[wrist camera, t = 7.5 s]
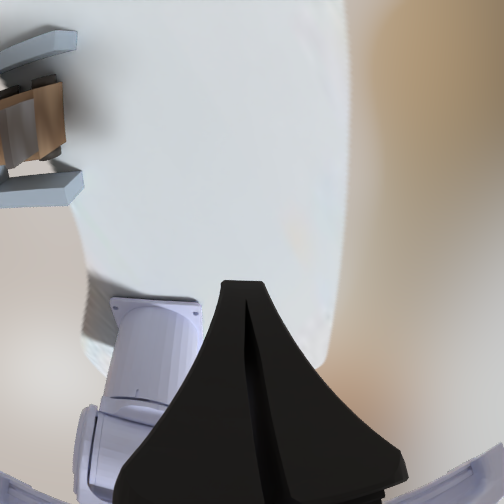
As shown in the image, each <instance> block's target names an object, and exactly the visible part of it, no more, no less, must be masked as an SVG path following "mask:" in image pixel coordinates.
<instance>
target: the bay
mask: <svg viewBox="0 0 504 504" xmlns="http://www.w3.org/2000/svg"><path fill="white" fill-rule="evenodd" d="M76 42H77V31H64V30H54V31H51V32H48V33H45V34H42V35H39V36H36V37H33V38H31V39H28V40H26V41H23V42H21V43H18V44H16V45H13V46H11V47H9V48H7V49H4V50H2V51H0V74H1V73H3V72H6V71H8V70H11V69H14V68H16V67H19V66H22V65H24V64H27V63H30V62H33V61H36V60H39V59H43V58H46V57H49V56H53V55H56V54H60V53H64V52H68V51H72V50H76ZM83 189H84V182H83V176H82V171H74V172H60V173H48V174H37V175H28V176H19V177H11V178H9V174H8V169H6V165H1V166H0V208H15V207H16V208H18V207H43V206H68V205H69V204H70V203H71V202H72V201H73V200H74V199H75V197H76V196H77V195H78V194H79V193H80V192H81V191H82V190H83Z"/></svg>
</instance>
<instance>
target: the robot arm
mask: <svg viewBox="0 0 504 504" xmlns="http://www.w3.org/2000/svg"><path fill="white" fill-rule="evenodd" d="M109 304H110V307H111V310H112V313H113V315H114V318H115V321H116V324H117V326H118V329H119V331H118V335H117V339H116V343H115V346H114V350H113V354H112V358H111V362H110V367H109V371H108V375H107V380H106V384H105V389H104V394H103V396H102V399H101V403H100V409H99V411H97V406H96V405H93V404H90V405H89V407H86V408H84V409H83V410H82V412H81V416H80V419H79V424H78V428H77V434H76V440H75V446H74V455H73V473H74V493H75V494H76V495H77V501H78V502H79V503H80V504H497V503H498V502H499V501H500V500H501V499H502V498H504V448H503V444H502V443H499V444H497V445H495V446H494V447H492V448H490V449H489V450H487V451H486V452H484V453H482V454H480V455H479V456H477V457H475V458H472V459H470V460H468V461H466V462H464V463H462V464H461V465H459V466H457V467H455V468H454V469H452V470H450V471H448V472H447V474H446V475H444V476H442V477H440V478H438V479H436V480H434V481H432V482H430V483H428V484H426V485H424V486H421V487H419V488H417V489H415V490H412V491H410V492H408V493H405V494H403V495H400V496H398V497H395V498H393V499H390V500H387V501H385V502H382V501H381V499H382V498H384V497H385V492H384V489H387V488H390V487H392V486H395V485H398V484H400V483H403V482H405V481H407V479H408V478H409V477H408V473H407V469H406V465H405V462H404V459H403V457H402V454H401V451H400V450H399V449H397V448H396V447H394V446H393V445H392V444H390V443H389V442H388V441H386V440H385V439H384V438H382V437H381V436H380V435H378V434H377V433H376V432H375V431H373V430H372V429H371V428H370V427H369V426H368V425H367V424H365V423H364V422H363V421H362V420H361V419H360V418H358V417H357V416H356V414H354V413H353V412H352V411H351V410H350V409H349V408H348V407H347V406H346V405H345V404H344V403H343V402H342V401H341V400H340V399H339V398H338V397H337V395H336V394H335V393H334V392H333V391H332V390H331V389H330V388H329V386H327V384H326V383H325V382H324V381H323V379H322V378H321V377H320V376H319V375H318V373H317V372H316V371H315V369H314V368H313V367H312V365H311V364H310V363H309V361H308V360H307V359H306V357H305V356H304V354H303V353H302V351H301V350H300V349H299V347H298V346H297V344H296V342H295V341H294V339H293V338H292V336H291V335H290V333H289V331H288V329H287V328H286V326H285V324H284V323H283V321H282V319H281V317H280V316H279V314H278V312H277V310H276V308H275V306H274V304H273V302H272V300H271V298H270V296H269V294H268V291H267V289H266V287H265V284H264V283H263V282H262V281H236V280H224V281H223V282H221V289H220V295H219V299H218V303H217V306H216V310H215V313H214V316H213V318H212V321H211V324H210V327H209V329H208V332H207V334H206V337H205V339H204V341H203V330H202V306H201V304H199V303H196V302H178V301H160V300H145V299H131V298H119V297H112V298H111V299H110V301H109ZM116 306H117V307H116ZM0 504H69V503H67V502H64V501H61V500H59V499H56V498H54V497H51V496H48V495H46V494H44V493H41V492H39V491H37V490H35V489H33V488H32V487H31V486H30V485H28V484H26V483H24V482H22V481H20V480H18V479H16V478H14V477H12V476H10V475H8V474H5V473H3V472H1V471H0Z"/></svg>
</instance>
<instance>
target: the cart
mask: <svg viewBox="0 0 504 504" xmlns="http://www.w3.org/2000/svg"><path fill="white" fill-rule="evenodd" d="M65 142H66V135H65V125H64V111H63V90H62V82H59V83H56V74H53V75H49V76H45V77H41V78H37V79H34V80H32V90H29V91H26V92H22V93H19V85H17V86H13V87H10V88H7V89H5V90H2V91H0V166H1V165H6V169H12V168H15V167H16V166H18V165H19V164H21V163H22V162H25V161H32V160H39V161H46V160H50V159H53V158H55V157H58V156H59V155H61V146H60V145H62V144H64V143H65Z"/></svg>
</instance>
